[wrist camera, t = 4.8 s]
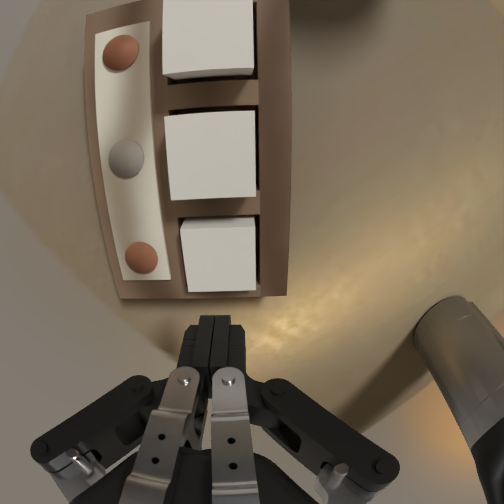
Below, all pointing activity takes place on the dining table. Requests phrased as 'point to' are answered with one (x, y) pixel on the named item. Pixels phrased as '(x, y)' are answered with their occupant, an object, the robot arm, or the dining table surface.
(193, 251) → the button
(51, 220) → the dining table surface
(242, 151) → the button
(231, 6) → the button
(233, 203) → the button panel
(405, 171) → the dining table surface
